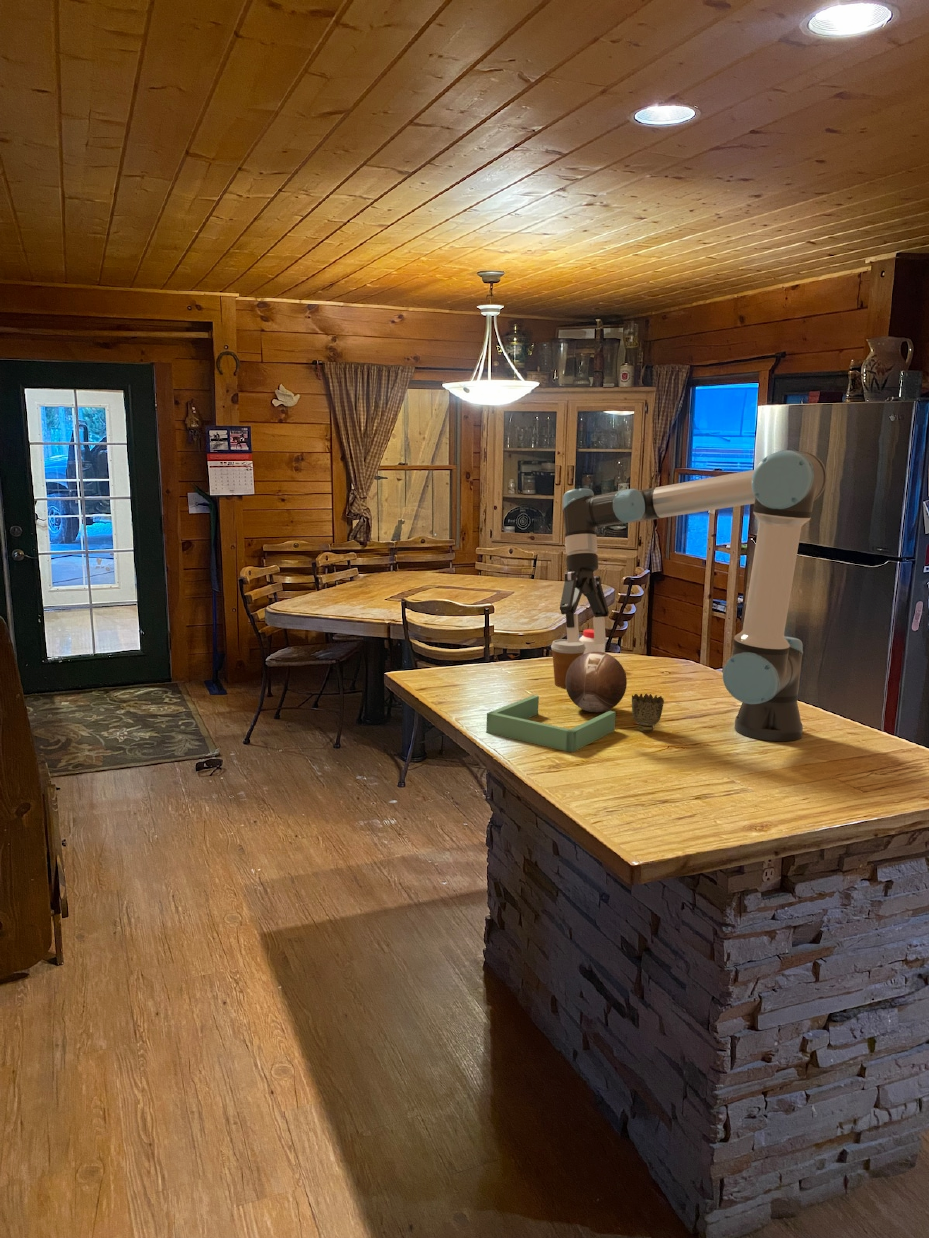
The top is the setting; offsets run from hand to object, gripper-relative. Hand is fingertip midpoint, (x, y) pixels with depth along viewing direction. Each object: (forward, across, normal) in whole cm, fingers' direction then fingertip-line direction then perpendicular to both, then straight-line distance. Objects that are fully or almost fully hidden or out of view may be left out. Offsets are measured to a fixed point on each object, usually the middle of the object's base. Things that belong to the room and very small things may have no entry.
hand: (587, 643), depth 217 cm
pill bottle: (+4, -53, -27) cm, 60 cm away
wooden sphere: (+16, -12, -5) cm, 21 cm away
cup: (+21, -5, +11) cm, 25 cm away
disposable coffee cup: (+9, -29, -22) cm, 38 cm away
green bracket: (+20, +9, -6) cm, 23 cm away
